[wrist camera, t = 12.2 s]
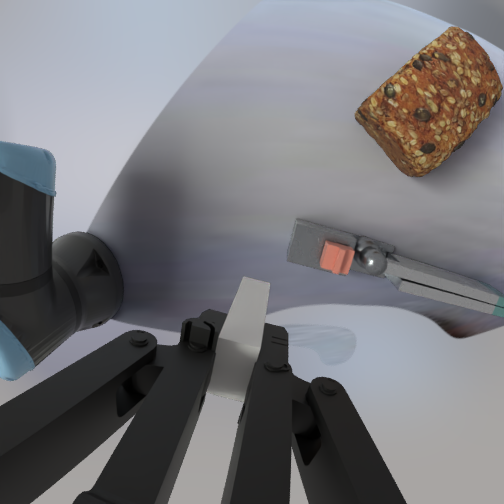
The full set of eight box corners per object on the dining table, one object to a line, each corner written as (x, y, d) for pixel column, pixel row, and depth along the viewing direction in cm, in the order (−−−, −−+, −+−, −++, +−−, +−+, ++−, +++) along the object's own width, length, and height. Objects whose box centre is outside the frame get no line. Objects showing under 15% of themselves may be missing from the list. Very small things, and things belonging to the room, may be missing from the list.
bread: (431, 43, 29) (463, 16, 19) (479, 102, 30) (520, 90, 20) (345, 115, 33) (364, 95, 24) (401, 180, 34) (436, 183, 25)
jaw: (351, 256, 37) (363, 272, 30) (357, 238, 36) (370, 251, 30) (483, 295, 35) (506, 312, 29) (489, 280, 35) (513, 296, 28)
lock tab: (319, 262, 34) (321, 270, 31) (325, 240, 33) (329, 246, 30) (344, 269, 33) (348, 277, 31) (351, 247, 33) (356, 253, 30)
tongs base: (287, 252, 38) (286, 270, 31) (296, 217, 37) (298, 227, 30) (477, 302, 36) (502, 323, 29) (488, 275, 35) (515, 292, 28)
